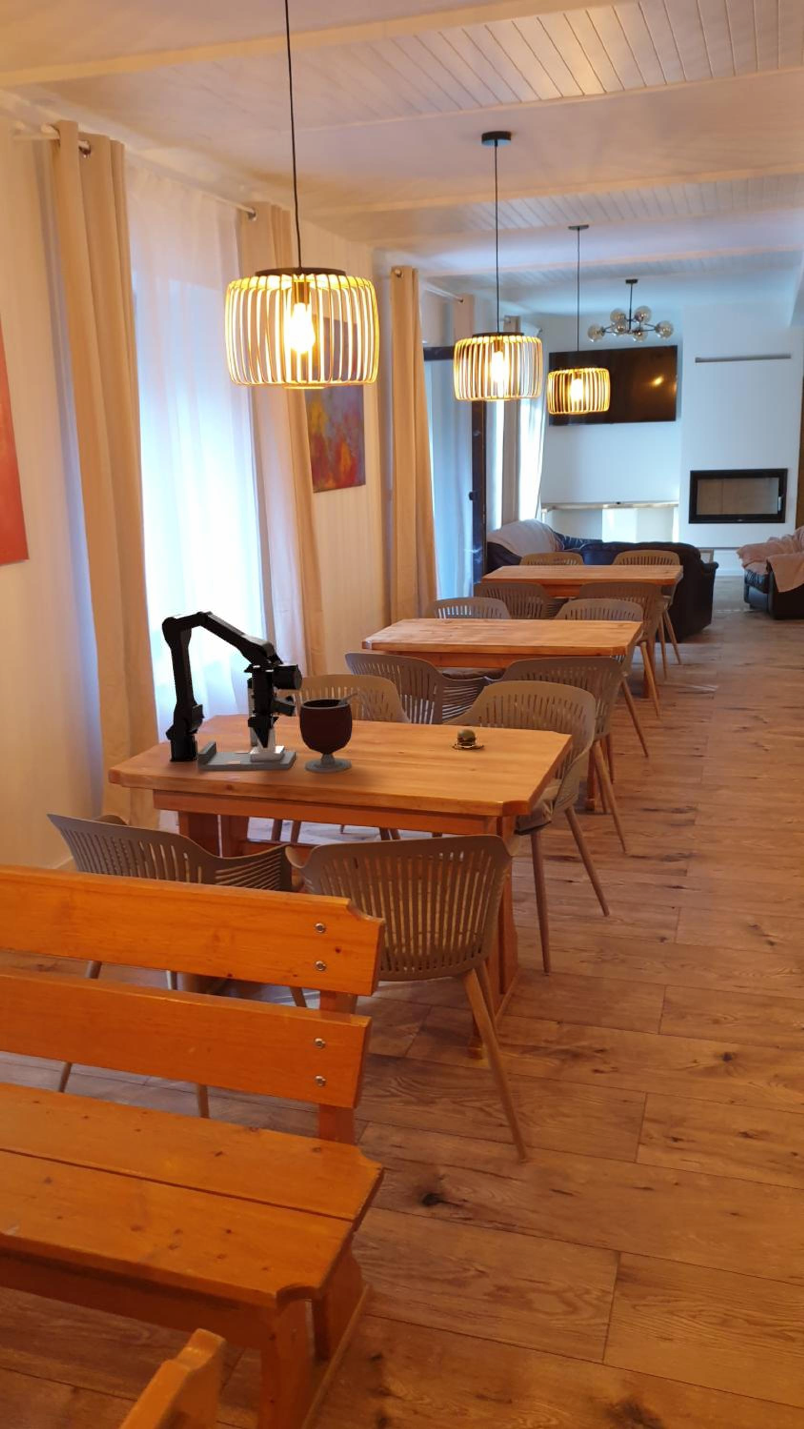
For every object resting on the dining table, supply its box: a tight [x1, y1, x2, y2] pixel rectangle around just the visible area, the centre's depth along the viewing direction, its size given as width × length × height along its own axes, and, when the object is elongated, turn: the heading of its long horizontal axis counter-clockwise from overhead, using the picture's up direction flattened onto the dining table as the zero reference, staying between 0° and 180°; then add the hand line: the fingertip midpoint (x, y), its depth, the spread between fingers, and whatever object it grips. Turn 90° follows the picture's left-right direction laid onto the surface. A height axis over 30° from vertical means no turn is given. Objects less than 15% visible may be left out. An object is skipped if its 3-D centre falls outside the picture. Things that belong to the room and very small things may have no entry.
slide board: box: [197, 740, 297, 771], centre depth 307 cm, size 24×14×4 cm, turn 87°
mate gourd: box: [298, 691, 358, 773], centre depth 299 cm, size 16×14×20 cm
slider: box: [250, 725, 285, 761], centre depth 306 cm, size 8×8×8 cm
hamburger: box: [456, 728, 477, 746], centre depth 318 cm, size 12×12×6 cm
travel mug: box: [246, 676, 258, 747], centre depth 327 cm, size 6×7×20 cm
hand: (266, 746), depth 306 cm, fingers closed on slider, 4 cm apart
